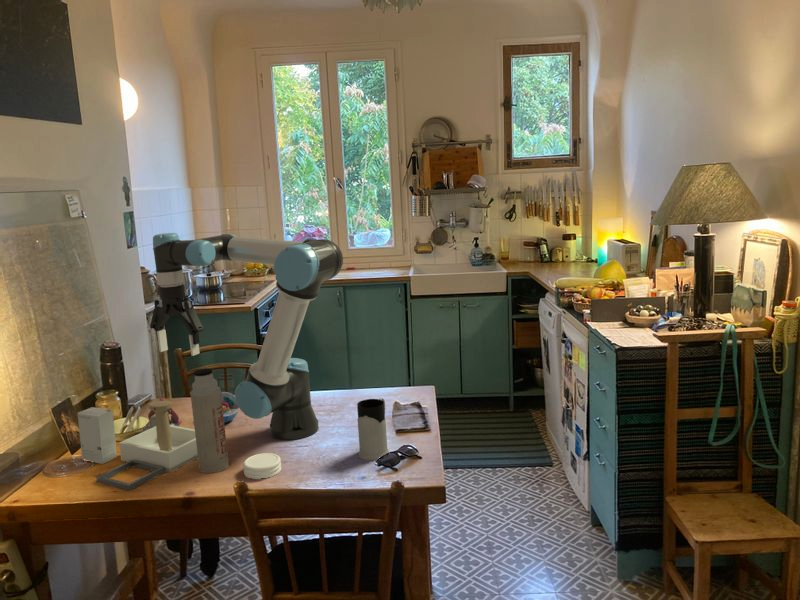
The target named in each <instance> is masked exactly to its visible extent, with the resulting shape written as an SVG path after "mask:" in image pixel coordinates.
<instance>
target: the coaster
mask: <svg viewBox="0 0 800 600" xmlns="http://www.w3.org/2000/svg"><path fill="white" fill-rule="evenodd" d="M281 461H282V458H281V457H280V456H279V455H278V454H276V453H271V452H263V453H258V454H254V455H251V456H249V457H248V458H246V459H245V460H244V461H243V474H244V477H246V478H248V479H250V478H252V479H251V480H262V479H261V478H266V479H269V478H268V477H270V478H272V476H273V477H275V476H277V475H278V474H279V473H280V472H281V471H282V462H281ZM276 474H277V475H276ZM274 475H275V476H274Z"/></svg>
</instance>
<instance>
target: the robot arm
mask: <svg viewBox="0 0 800 600" xmlns="http://www.w3.org/2000/svg"><path fill="white" fill-rule="evenodd" d="M152 247H153V248H152V251H153V255H154V264H155V271H156V281H157V285H158V295H159V296H158V297H159V298H158V299H155V300H154V308H153V312H152V316H151V320H150V325H149V327H150V329H153V330H154V331H155V334H156V340H157V341H158V343H157V344H158V349H159V353H162V352H165V351H168V350H169V347H168V337H167V333H166V331H167V330H166V328H165V326H166V324H167V322H168V320H169V318H170V316H174V317H175V316H176V317H178V318H179V319H180V320H181V322H182V323H183V325H184V326H185V327H186V329H187V330H188V332H189V334H188V339H189V340H188V341H189V346H190V355H191V356H193V357H194V356H196V355H198V354H200V345H199V344H200V335H199V334H200V333H201V332H204V329H205V328H204V327H203V324H202V322H201V320H200V318H199V316H198V314H197V312H196V309H195V308H194V307H195V306H194V303H193V302H194V301H192V300H188V301H185V297H186V287H185V284H184V282H185V281H184V272H183V271H184V270H183V266H184V267H185V266H187V267H189V266H190V267H207V266H210V265H211V264H212V263H215V262H219V261H229V262H230V261H233V262H241V263H250V264H251V263H253V264H260V265H261V264H262V265H269V266H273V273H274V275H275V276H274V279H275V280H276V282H275V283H276V284H275V286H276V288H277V289H278V291H279V292H278V296H277V299H276V302H275V305H274V308H273V311H272V315H271V318H270V321H269V324H268V328H267V330H266V334H265V337H264V340H263V343H262V346H261V349H260V352H259V355H258V356H259V357H258V359H257V361H256V362H254V363H252V364H251V365H250V367H249V370H248V373H247V375H246V379H245V380H243V381H241V382H240V383H239V384H238V385H237V386H236V388H235V390H234V396H235V399H236V403H237V404H238V406H239V410H240V411H241V412H242V413H243V414H244V415H245V416H247V417H249V418H251V419H254V420H255V419H256V420H258V419H262V418H264V417H268V416H270V415H271V414H272V415H271V419H270V423H269V434H270V436H271V437H273V438H274V439H278V440H297V439H302V438H306V437H309V436H312V435H314V434H315V433H317V432H318V430H319V420H318V418H317V417H316V414H315V410H314V409H313V407H312V400H311V397H312V396H311V386H310V375H309V373H310V370H309V364H308V362H307V361H306V360H305V359H302V358H298V357H292V354H293V352H294V349H295V346H296V344H297V343H296V342H297V340H298V337H299V335H300V332H301V328H302V325H303V322H304V319H305V317H306V313H307V311H308V307H309V305H310V302H311V301H314V300H316V299H317V297H318V295H319V292H320V289H321V287H322V284H323V282H326V281H329V280H332V279H333V278H335V277H336V276H337V275H338V274H339V273H340V272H341V271H342V268H343V264H344V257H343V252H342V250H341V249H340V247H339V246H338V244H336V243H335V242H333V241H332V240H329V239H325V238H321V239H320V238H319V239H313V238H312V239H311V238H306V239H304V240H303V241H295V240H293V241H292V240H284V239H283V240H279V239H272V238H271V239H270V238H258V237H257V238H256V237H246V236H245V237H244V236H237V235H236V234H232V233H222V234H220V235H215V236H208V237H203V238H198V239H191V240H189V239H188V240H186V239H185V240H183V239H182V240H181V239H180V238H179V234H178V233H176V232H168V233H167V232H165V233H157V234H154V236H153V237H152Z"/></svg>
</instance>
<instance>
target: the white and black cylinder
mask: <svg viewBox="0 0 800 600" xmlns="http://www.w3.org/2000/svg"><path fill="white" fill-rule="evenodd" d="M356 406H357V407H356V408H357V428H358V429H357V431H358V432H357V433H358V443H359V444H358V445H359V452H358V454H357V455H359V456H358V457H359V459H361V458H362V459H361V460H364V459H365V461H377V460H376V459H378V458H379V457H381V456H383V455H384V454H386V453H388V452H389V453H390V451H389V449H388V439H387V438H388V436H387V422H386V420H387V419H386V402H385V398H384V397H380V398H379V399H378V398H367V399H362V400H359V401H358V402H357V403H356Z"/></svg>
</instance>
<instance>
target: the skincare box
mask: <svg viewBox="0 0 800 600" xmlns="http://www.w3.org/2000/svg"><path fill="white" fill-rule="evenodd" d="M113 411H114V410H111V409H107V408H103V407H94V406H91V407H89V408H87V409H84V410H81V411H79V412H77V419H78V420H77V421H78V432H79V440H80V442H79V443H80V452H81V460H82V459H86V460H90V461H93V462H92V463H94V462H95V464H100V465H104V464H106V463H108V462H110V461H111V460H114V459H116V458H117V457H118V451H117V442H116V441H117V440H116V431H115V420H114V412H113Z"/></svg>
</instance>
